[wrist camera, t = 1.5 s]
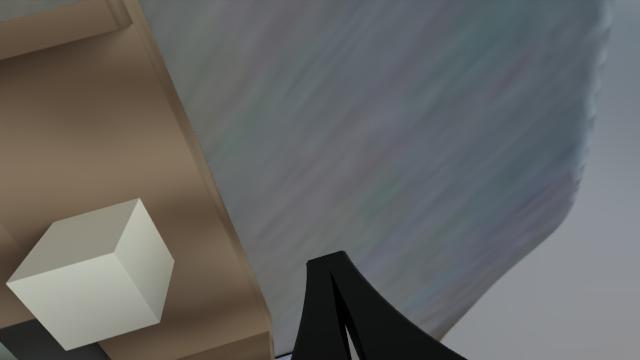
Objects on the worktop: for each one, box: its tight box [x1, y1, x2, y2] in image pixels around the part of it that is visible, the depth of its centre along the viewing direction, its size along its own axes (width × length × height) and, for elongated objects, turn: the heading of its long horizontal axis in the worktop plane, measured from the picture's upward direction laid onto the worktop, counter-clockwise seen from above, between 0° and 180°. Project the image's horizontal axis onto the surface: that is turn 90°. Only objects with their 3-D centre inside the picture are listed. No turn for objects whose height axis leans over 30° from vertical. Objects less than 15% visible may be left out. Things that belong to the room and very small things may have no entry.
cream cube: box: [6, 198, 174, 351], centre depth 17 cm, size 4×4×4 cm
